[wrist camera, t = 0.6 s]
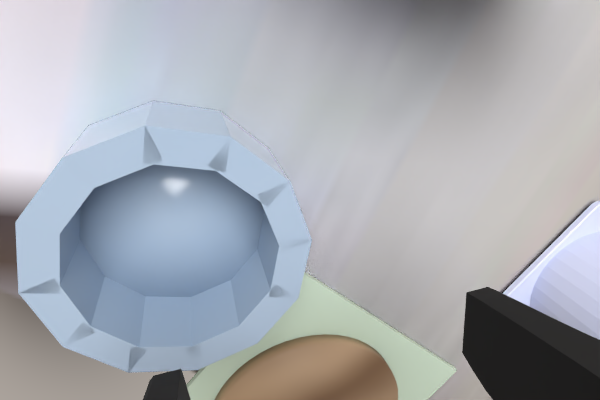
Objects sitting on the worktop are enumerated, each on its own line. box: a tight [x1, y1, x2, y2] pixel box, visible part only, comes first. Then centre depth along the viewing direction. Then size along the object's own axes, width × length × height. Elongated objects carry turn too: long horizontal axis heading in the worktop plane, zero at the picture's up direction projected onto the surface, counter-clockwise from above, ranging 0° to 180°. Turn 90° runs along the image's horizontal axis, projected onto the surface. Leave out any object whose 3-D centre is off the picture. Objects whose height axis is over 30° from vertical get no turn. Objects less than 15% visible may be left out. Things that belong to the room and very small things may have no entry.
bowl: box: [15, 101, 312, 372], centre depth 17 cm, size 10×10×4 cm
